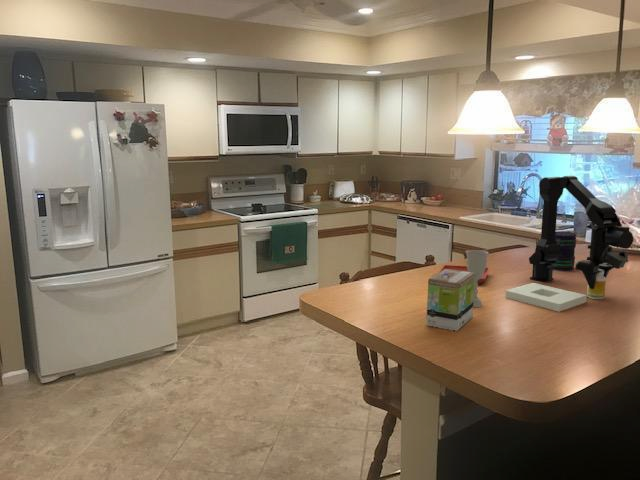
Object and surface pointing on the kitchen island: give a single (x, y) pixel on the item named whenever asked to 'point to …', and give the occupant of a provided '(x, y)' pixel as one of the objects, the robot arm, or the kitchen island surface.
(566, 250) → the storage jar
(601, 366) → the kitchen island surface
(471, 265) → the chalice
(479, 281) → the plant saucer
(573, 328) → the kitchen island surface
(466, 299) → the tea box
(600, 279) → the supplement bottle
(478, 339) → the kitchen island surface
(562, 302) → the socket board
